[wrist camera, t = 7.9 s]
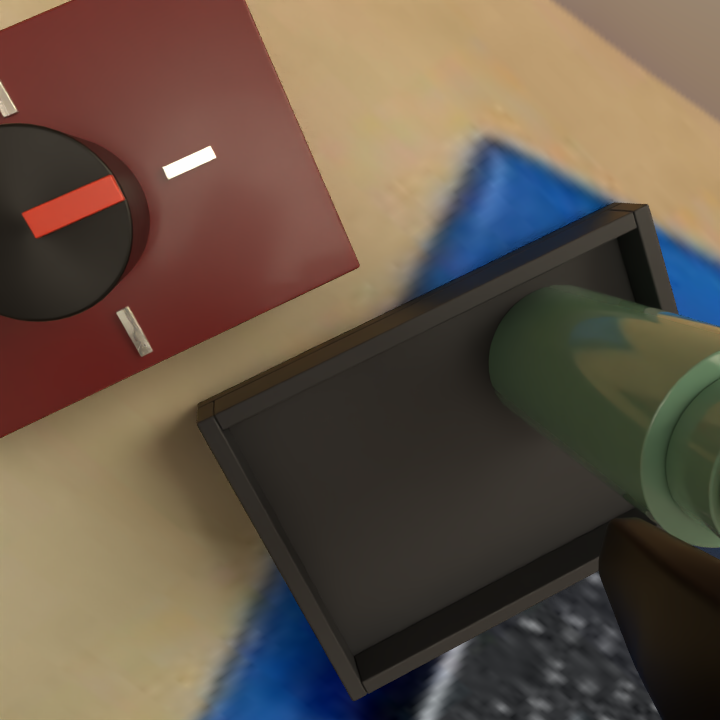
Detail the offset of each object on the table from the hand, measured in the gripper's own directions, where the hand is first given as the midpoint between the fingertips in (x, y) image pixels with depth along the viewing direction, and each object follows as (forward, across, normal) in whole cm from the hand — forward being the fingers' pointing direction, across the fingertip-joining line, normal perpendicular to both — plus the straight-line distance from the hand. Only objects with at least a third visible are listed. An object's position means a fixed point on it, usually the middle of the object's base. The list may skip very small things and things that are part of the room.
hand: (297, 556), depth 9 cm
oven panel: (+14, -6, +1) cm, 15 cm away
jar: (+14, +9, -5) cm, 17 cm away
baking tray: (+13, +6, -8) cm, 16 cm away
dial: (+11, -6, +2) cm, 12 cm away
